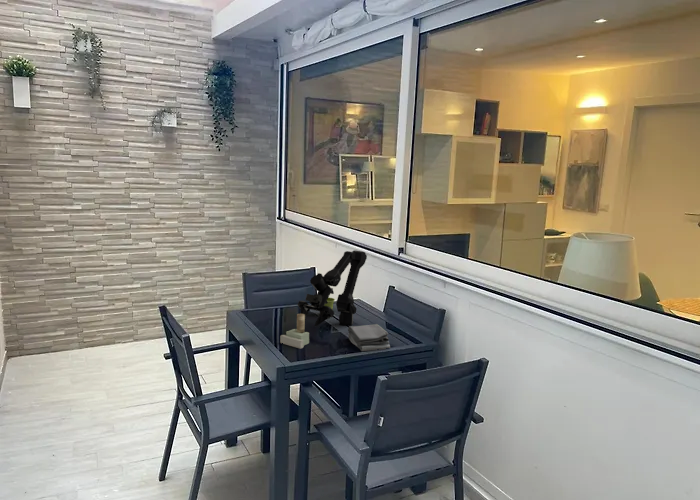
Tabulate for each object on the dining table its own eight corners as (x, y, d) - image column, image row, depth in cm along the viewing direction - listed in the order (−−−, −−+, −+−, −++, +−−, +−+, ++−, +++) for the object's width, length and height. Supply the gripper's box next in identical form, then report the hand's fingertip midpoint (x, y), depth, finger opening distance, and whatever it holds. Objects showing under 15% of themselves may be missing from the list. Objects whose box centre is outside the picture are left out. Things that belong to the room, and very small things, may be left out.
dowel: (305, 341, 233) (305, 313, 231) (303, 343, 230) (303, 316, 228) (297, 340, 234) (298, 313, 232) (295, 342, 230) (295, 315, 228)
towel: (376, 337, 243) (377, 321, 242) (391, 349, 226) (391, 333, 224) (346, 339, 238) (347, 323, 237) (359, 352, 221) (359, 335, 220)
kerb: (283, 342, 231) (283, 334, 231) (303, 347, 224) (303, 340, 224) (280, 343, 230) (280, 335, 229) (300, 348, 223) (300, 341, 222)
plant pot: (315, 315, 275) (315, 300, 273) (321, 311, 284) (321, 296, 282) (331, 317, 272) (331, 302, 271) (336, 313, 281) (337, 298, 280)
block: (294, 339, 235) (294, 328, 234) (309, 343, 230) (309, 332, 229) (286, 342, 230) (286, 331, 230) (301, 346, 225) (301, 335, 225)
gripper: (299, 284, 242) (284, 311, 234) (330, 290, 231) (315, 319, 224) (310, 296, 249) (295, 323, 242) (340, 303, 239) (326, 331, 232)
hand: (307, 324), depth 235 cm, fingers open, 9 cm apart
